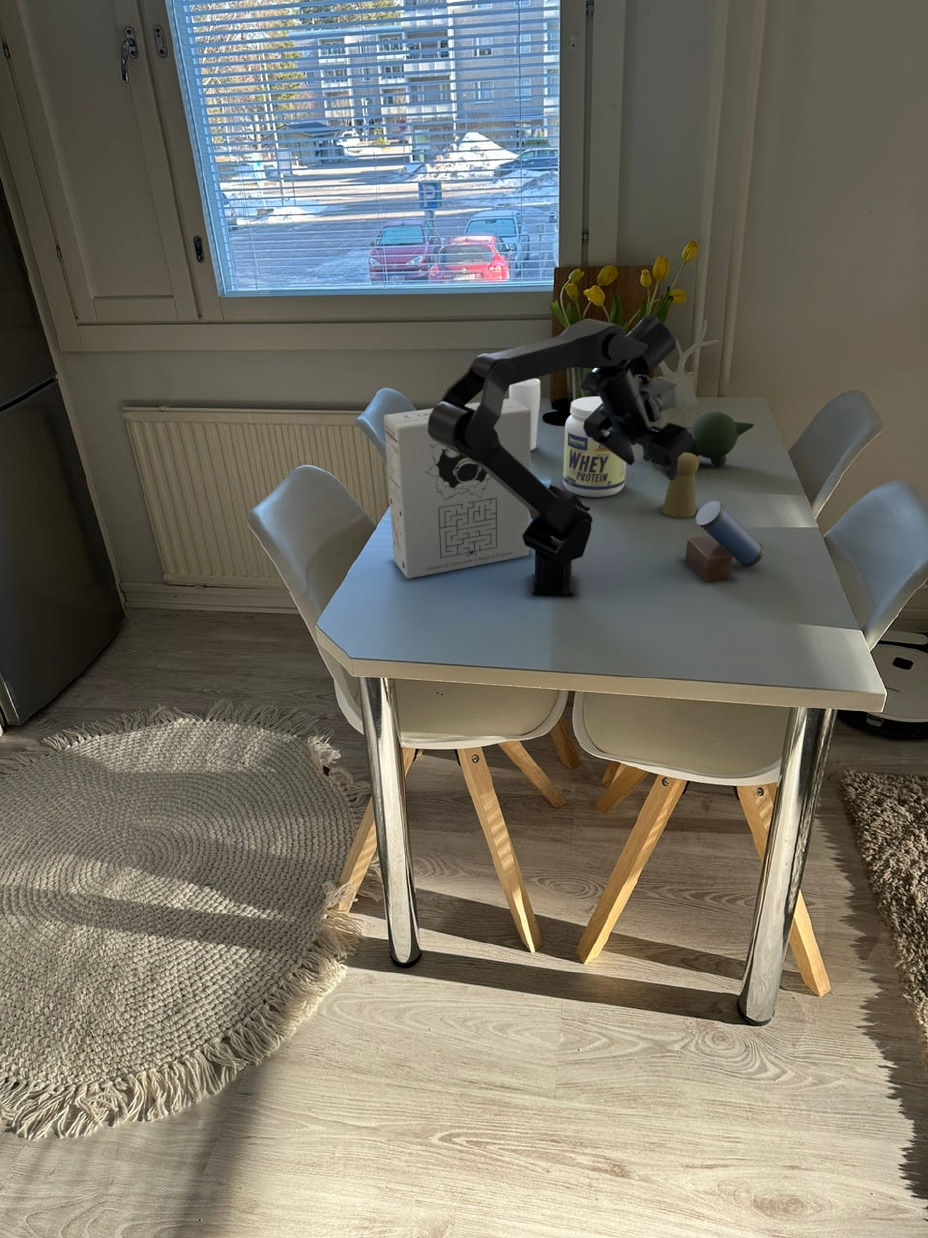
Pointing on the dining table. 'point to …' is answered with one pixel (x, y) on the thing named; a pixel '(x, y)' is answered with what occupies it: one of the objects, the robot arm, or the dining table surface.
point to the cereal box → (452, 496)
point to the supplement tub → (589, 457)
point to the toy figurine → (710, 437)
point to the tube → (730, 534)
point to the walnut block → (708, 559)
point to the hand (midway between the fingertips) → (652, 470)
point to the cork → (682, 488)
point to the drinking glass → (528, 402)
